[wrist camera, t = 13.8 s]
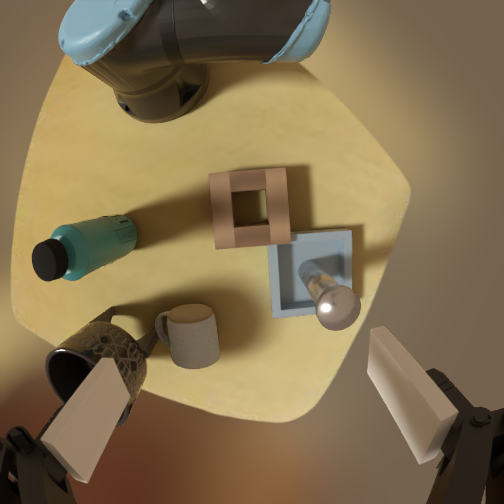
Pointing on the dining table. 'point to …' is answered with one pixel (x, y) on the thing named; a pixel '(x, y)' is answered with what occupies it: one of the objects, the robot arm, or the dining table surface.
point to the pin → (329, 297)
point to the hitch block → (256, 232)
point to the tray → (299, 250)
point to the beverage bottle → (83, 247)
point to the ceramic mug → (190, 335)
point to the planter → (90, 353)
